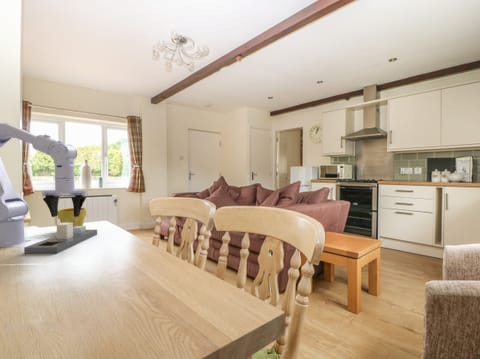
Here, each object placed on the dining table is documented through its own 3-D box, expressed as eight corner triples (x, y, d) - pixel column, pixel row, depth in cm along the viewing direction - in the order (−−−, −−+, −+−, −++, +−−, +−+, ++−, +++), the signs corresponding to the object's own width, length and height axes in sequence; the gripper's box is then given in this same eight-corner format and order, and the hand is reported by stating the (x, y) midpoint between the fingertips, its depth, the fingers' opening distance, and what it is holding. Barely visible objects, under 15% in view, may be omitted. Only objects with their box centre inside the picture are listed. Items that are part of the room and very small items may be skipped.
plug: (56, 244, 91) (55, 225, 91) (63, 241, 95) (63, 222, 95) (66, 244, 91) (65, 224, 91) (73, 241, 95) (72, 222, 95)
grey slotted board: (24, 255, 81) (24, 247, 81) (72, 235, 105) (71, 229, 105) (56, 255, 82) (56, 247, 81) (97, 235, 105) (97, 229, 105)
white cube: (71, 238, 100) (71, 228, 99) (76, 236, 103) (76, 226, 103) (80, 238, 100) (80, 227, 99) (85, 235, 103) (85, 225, 103)
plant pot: (65, 236, 105) (65, 212, 105) (53, 232, 110) (52, 210, 110) (91, 230, 114) (91, 208, 114) (79, 228, 119) (78, 206, 119)
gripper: (35, 178, 88) (36, 218, 89) (79, 178, 89) (80, 218, 89) (49, 178, 95) (50, 215, 96) (90, 178, 96) (91, 214, 96)
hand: (65, 216), depth 93 cm, fingers open, 7 cm apart
